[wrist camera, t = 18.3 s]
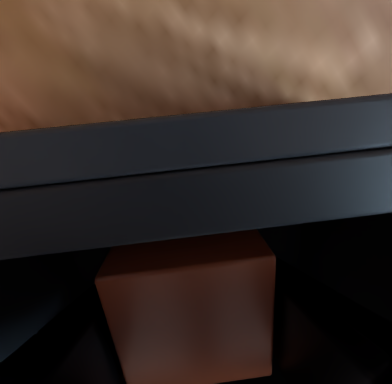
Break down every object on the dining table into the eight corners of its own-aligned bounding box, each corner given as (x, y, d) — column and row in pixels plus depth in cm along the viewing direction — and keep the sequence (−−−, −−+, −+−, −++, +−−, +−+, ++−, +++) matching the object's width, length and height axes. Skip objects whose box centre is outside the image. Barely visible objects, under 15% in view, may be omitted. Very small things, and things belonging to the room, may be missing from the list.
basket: (457, 485, 6) (724, 60, 2) (-44, 571, 5) (-548, 186, 2) (299, 277, 13) (313, 104, 10) (88, 304, 13) (29, 132, 10)
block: (236, 276, 10) (273, 377, 6) (148, 288, 10) (128, 398, 6) (233, 194, 8) (278, 256, 5) (131, 206, 8) (91, 279, 4)
